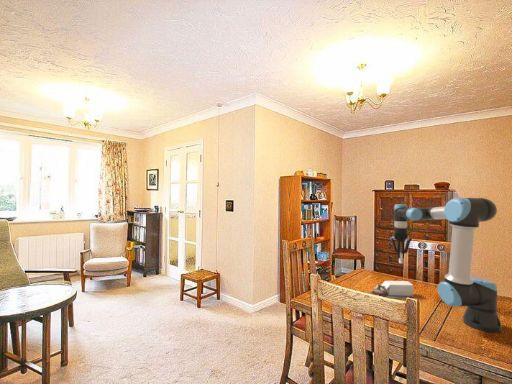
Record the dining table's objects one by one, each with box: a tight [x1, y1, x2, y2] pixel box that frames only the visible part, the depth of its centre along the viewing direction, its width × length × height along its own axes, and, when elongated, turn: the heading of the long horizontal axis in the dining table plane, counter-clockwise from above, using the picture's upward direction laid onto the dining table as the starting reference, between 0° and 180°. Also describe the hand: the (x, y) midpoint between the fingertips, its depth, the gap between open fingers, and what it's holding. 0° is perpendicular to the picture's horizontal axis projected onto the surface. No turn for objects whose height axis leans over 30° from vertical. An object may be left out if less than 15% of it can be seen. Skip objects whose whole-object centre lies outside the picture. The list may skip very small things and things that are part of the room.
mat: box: [388, 294, 411, 300], centre depth 182 cm, size 20×17×1 cm
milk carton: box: [381, 280, 414, 297], centre depth 180 cm, size 7×7×19 cm
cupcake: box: [370, 284, 388, 297], centre depth 167 cm, size 10×10×10 cm
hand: (400, 263), depth 181 cm, fingers closed
